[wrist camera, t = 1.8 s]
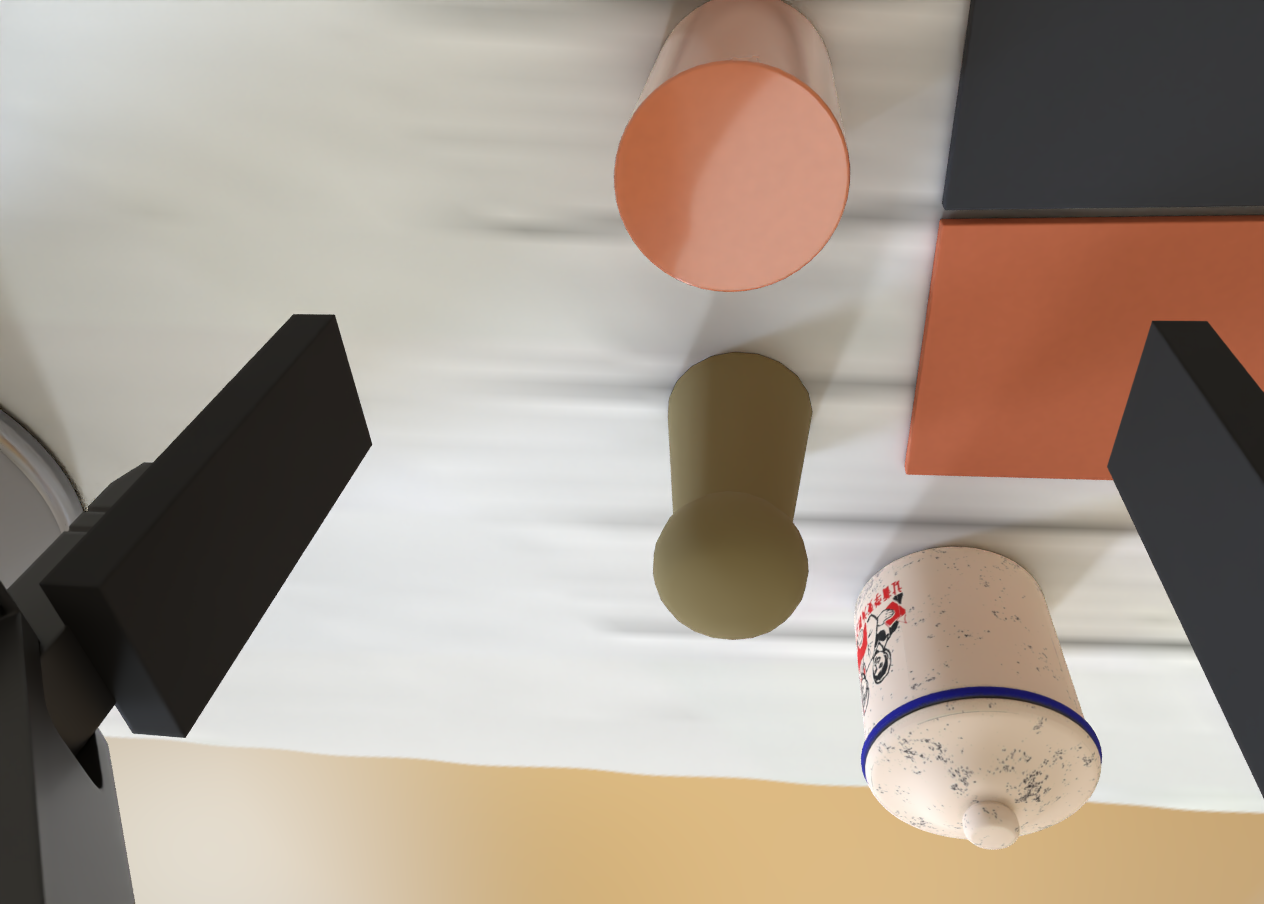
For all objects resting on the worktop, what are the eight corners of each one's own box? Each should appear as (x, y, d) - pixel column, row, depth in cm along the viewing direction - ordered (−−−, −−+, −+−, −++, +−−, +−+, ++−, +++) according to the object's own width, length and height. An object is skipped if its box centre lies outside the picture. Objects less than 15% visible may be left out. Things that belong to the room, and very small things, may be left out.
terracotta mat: (904, 466, 38) (905, 475, 38) (939, 218, 32) (941, 224, 31) (1262, 476, 36) (1269, 485, 36) (1378, 212, 30) (1388, 219, 29)
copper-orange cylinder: (656, 181, 32) (621, 293, 25) (647, -3, 29) (604, 65, 21) (826, 178, 31) (841, 293, 24) (839, -13, 28) (860, 55, 21)
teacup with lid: (851, 537, 41) (873, 757, 31) (1064, 538, 39) (1154, 770, 30) (843, 706, 48) (859, 928, 38) (1024, 713, 46) (1086, 946, 37)
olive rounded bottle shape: (782, 332, 35) (784, 512, 26) (831, 449, 38) (848, 646, 29) (644, 379, 37) (603, 560, 28) (700, 486, 40) (679, 681, 31)
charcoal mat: (941, 204, 31) (944, 210, 31) (996, -180, 25) (1000, -179, 24) (1385, 198, 29) (1395, 204, 29) (1569, -221, 23) (1586, -221, 22)
